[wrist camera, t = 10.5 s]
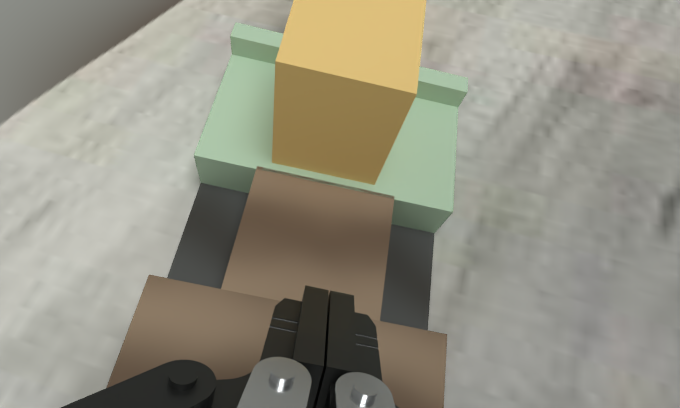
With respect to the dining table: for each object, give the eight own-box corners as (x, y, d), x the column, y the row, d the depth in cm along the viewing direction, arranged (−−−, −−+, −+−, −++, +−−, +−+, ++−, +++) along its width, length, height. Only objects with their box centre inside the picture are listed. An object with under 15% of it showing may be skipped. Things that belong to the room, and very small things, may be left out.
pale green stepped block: (432, 234, 29) (463, 200, 24) (201, 185, 28) (189, 140, 23) (440, 124, 33) (467, 77, 29) (239, 77, 32) (235, 22, 28)
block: (374, 184, 26) (417, 94, 19) (271, 162, 25) (275, 61, 18) (385, 104, 28) (426, -2, 21) (293, 83, 28) (303, -32, 21)
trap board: (409, 561, 21) (434, 585, 18) (87, 508, 20) (55, 523, 17) (432, 232, 29) (453, 209, 26) (202, 182, 28) (195, 152, 25)
